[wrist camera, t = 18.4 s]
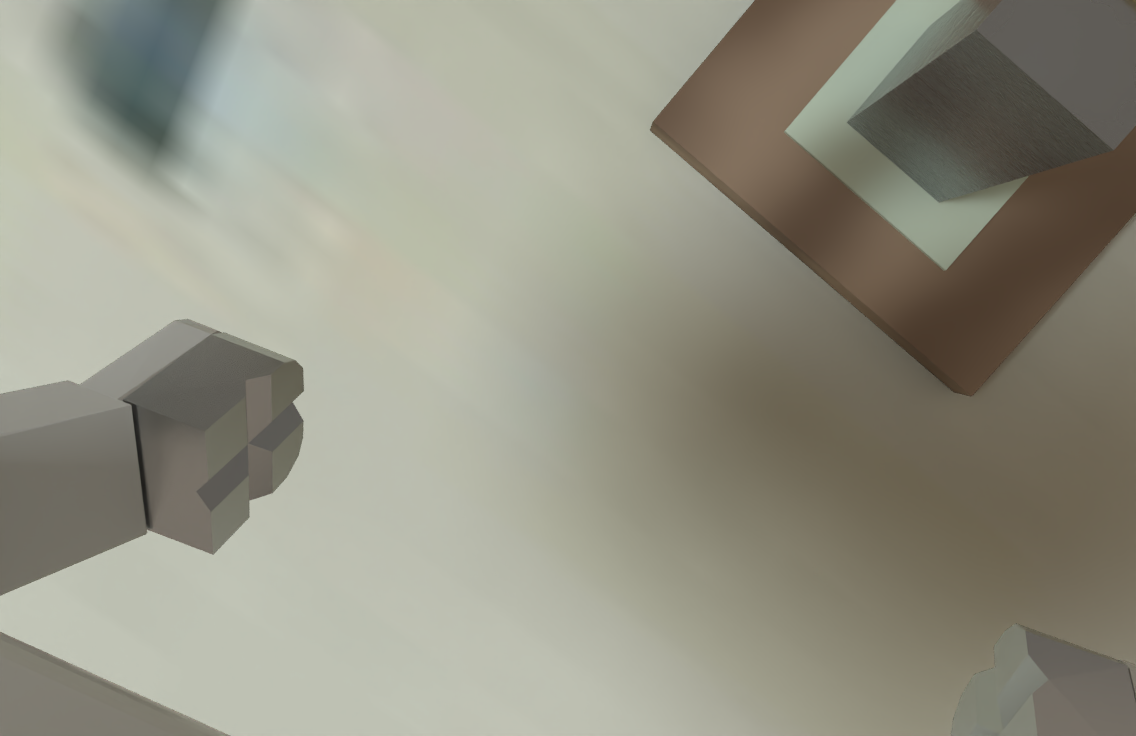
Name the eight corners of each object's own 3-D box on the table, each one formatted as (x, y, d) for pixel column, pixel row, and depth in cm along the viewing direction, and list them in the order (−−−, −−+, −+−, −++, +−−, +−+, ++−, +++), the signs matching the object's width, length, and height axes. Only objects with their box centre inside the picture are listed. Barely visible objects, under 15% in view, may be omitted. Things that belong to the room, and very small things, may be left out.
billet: (846, 122, 30) (980, 26, 20) (928, 26, 30) (1107, -122, 19) (938, 202, 30) (1119, 148, 20) (1021, 107, 30) (1247, 2, 20)
